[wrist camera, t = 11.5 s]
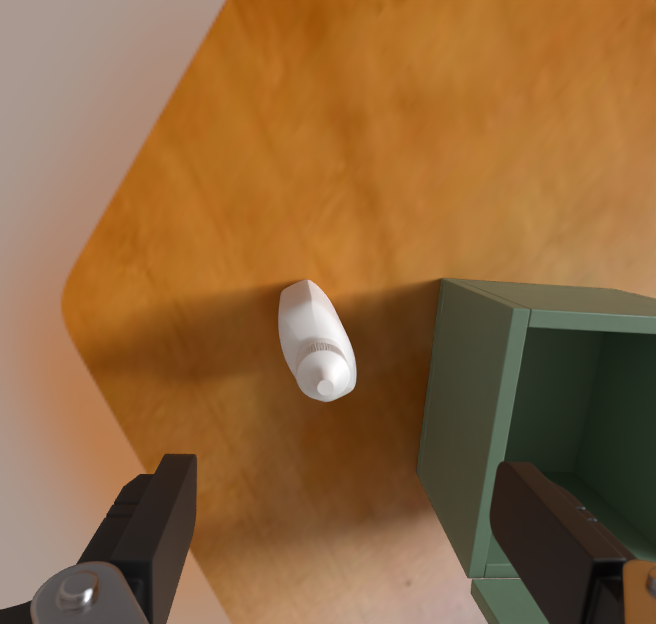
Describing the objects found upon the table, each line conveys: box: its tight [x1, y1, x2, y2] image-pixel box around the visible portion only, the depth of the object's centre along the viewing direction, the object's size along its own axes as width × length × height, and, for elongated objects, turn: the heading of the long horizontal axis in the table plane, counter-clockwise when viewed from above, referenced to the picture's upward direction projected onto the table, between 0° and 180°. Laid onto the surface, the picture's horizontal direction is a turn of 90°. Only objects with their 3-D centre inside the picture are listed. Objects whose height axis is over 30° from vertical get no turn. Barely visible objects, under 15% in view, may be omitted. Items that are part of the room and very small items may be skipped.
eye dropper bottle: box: [278, 279, 356, 402], centre depth 24 cm, size 4×6×12 cm
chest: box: [416, 278, 656, 578], centre depth 27 cm, size 15×13×10 cm
